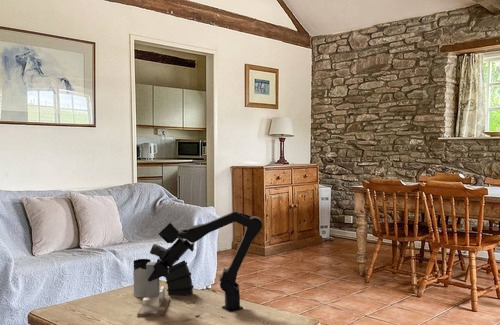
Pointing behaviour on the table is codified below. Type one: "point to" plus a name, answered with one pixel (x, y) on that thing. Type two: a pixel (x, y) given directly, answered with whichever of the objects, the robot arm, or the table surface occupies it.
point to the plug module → (152, 286)
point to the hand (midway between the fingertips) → (149, 279)
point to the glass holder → (140, 277)
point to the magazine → (179, 280)
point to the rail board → (160, 312)
